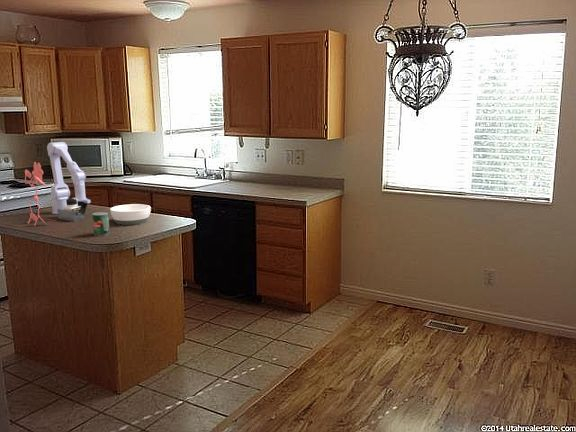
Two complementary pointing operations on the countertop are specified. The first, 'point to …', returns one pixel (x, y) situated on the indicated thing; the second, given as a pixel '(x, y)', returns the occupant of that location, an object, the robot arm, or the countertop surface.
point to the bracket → (69, 215)
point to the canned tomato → (101, 223)
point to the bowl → (130, 214)
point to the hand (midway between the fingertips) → (82, 214)
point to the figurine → (37, 177)
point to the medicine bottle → (73, 206)
